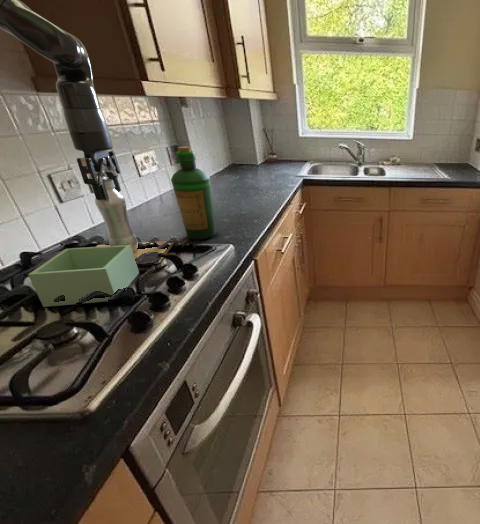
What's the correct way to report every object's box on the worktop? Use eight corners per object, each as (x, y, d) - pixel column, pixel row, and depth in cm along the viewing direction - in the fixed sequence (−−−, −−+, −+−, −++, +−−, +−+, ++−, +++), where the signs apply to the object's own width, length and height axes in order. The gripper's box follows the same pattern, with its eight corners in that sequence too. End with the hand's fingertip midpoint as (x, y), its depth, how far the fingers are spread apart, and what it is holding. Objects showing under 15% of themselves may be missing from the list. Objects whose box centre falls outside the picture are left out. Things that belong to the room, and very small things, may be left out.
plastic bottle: (124, 258, 90) (100, 184, 81) (106, 254, 92) (81, 181, 83) (145, 249, 95) (126, 179, 87) (128, 246, 97) (107, 177, 89)
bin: (43, 307, 70) (27, 274, 67) (77, 277, 82) (65, 248, 78) (116, 300, 73) (105, 268, 70) (139, 272, 85) (130, 244, 82)
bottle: (177, 237, 108) (156, 146, 96) (207, 228, 116) (191, 144, 104) (196, 244, 103) (176, 150, 91) (226, 235, 111) (211, 147, 99)
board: (73, 269, 86) (72, 265, 85) (99, 248, 98) (98, 244, 97) (159, 263, 90) (158, 259, 90) (173, 244, 102) (172, 240, 102)
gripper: (85, 126, 85) (105, 189, 92) (52, 130, 73) (78, 203, 80) (118, 127, 87) (135, 189, 94) (92, 131, 74) (113, 202, 81)
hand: (109, 195), depth 87 cm, fingers open, 8 cm apart
